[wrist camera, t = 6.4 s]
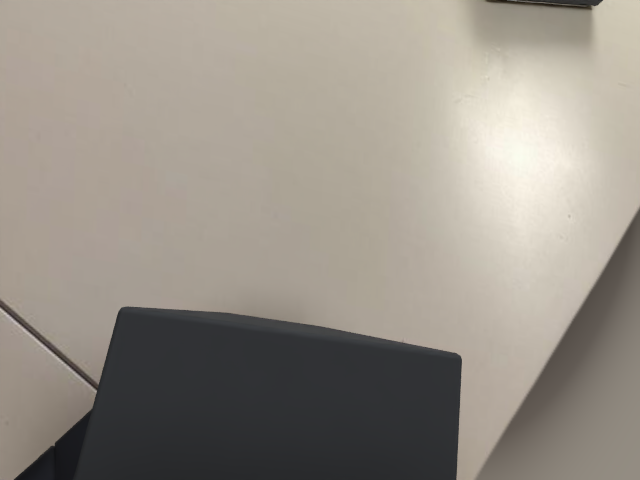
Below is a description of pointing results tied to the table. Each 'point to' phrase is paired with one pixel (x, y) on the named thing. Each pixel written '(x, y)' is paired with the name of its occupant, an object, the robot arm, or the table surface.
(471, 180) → the table surface
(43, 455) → the robot arm
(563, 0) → the disk drive
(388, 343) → the dark grey square block
